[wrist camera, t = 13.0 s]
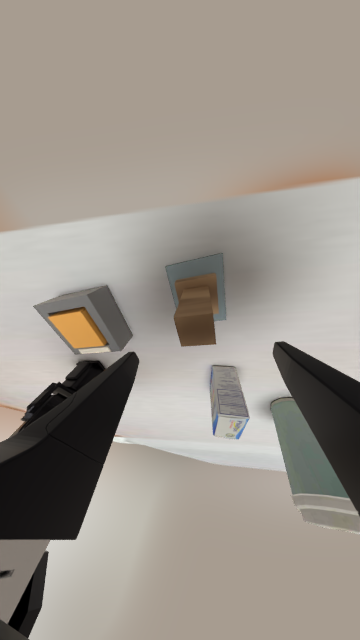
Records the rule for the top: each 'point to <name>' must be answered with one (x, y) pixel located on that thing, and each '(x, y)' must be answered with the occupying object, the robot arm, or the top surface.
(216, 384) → the medicine box
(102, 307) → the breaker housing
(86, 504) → the robot arm
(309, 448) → the disposable coffee cup
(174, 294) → the rubber mat
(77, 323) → the button
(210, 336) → the press tool
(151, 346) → the top surface
